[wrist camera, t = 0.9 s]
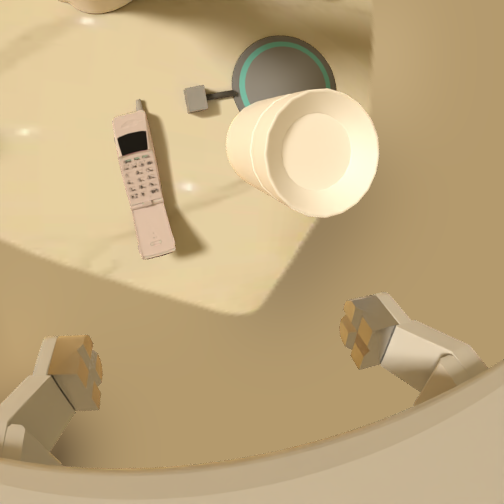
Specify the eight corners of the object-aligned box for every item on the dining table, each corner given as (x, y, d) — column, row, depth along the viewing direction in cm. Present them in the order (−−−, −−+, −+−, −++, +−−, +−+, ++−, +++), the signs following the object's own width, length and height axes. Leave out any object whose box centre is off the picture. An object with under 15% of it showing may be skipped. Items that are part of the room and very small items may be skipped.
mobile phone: (141, 261, 49) (104, 104, 39) (141, 249, 54) (109, 107, 45) (178, 252, 51) (144, 93, 41) (174, 240, 56) (144, 98, 46)
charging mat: (175, 47, 44) (177, 43, 42) (325, 35, 50) (332, 32, 48) (197, 159, 52) (199, 160, 50) (342, 133, 58) (349, 133, 56)
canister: (207, 157, 52) (236, 172, 34) (259, 82, 50) (313, 61, 32) (280, 204, 59) (336, 240, 41) (326, 134, 57) (397, 142, 39)
